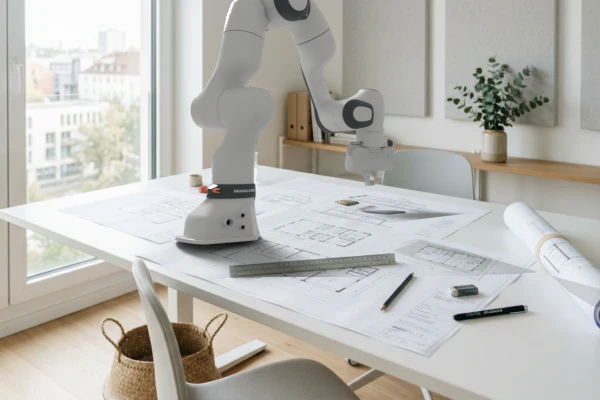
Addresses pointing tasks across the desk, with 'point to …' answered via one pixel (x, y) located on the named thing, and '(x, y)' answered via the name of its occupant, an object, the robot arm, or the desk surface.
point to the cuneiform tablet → (348, 201)
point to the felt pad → (384, 211)
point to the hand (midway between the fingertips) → (369, 185)
